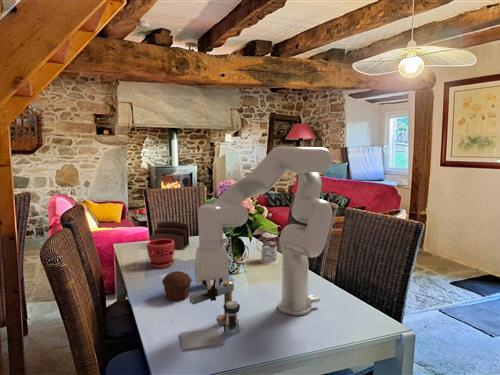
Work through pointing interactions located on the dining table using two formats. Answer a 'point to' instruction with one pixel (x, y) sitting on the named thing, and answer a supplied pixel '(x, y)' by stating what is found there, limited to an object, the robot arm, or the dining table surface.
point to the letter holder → (173, 233)
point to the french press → (269, 249)
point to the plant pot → (161, 252)
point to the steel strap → (203, 295)
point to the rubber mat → (200, 339)
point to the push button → (231, 318)
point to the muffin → (177, 286)
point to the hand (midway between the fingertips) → (212, 299)
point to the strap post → (223, 317)
